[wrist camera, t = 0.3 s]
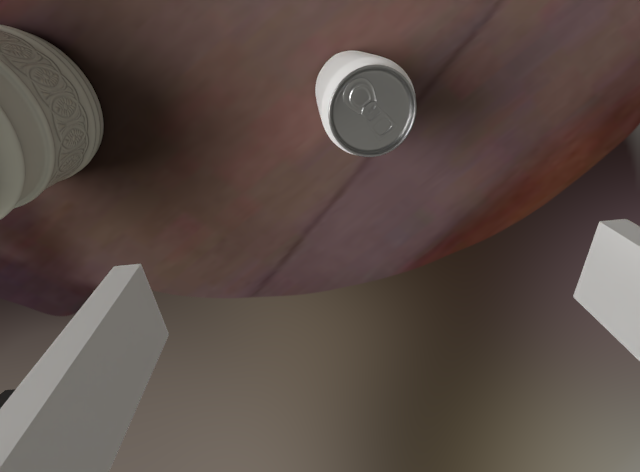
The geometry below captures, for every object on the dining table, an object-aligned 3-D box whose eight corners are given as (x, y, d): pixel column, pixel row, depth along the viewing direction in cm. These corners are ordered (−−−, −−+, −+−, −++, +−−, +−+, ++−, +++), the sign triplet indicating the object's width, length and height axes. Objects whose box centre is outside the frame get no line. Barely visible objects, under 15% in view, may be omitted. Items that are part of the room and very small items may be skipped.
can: (356, 32, 31) (384, 30, 20) (398, 93, 33) (442, 118, 23) (300, 85, 33) (300, 108, 22) (344, 138, 35) (362, 182, 25)
